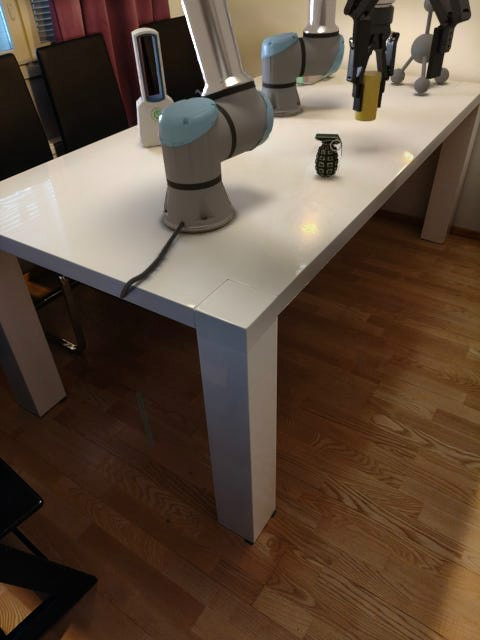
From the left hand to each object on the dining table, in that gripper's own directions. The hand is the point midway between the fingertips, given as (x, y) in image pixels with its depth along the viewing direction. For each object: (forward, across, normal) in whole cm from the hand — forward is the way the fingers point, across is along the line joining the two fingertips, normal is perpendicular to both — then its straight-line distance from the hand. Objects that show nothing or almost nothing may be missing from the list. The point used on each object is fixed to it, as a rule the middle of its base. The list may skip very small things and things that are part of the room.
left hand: (394, 71), depth 77 cm
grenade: (+30, +29, -19) cm, 46 cm away
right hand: (+19, +34, -40) cm, 56 cm away
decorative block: (+30, +108, -94) cm, 146 cm away
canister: (+22, +34, -40) cm, 57 cm away
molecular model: (+30, +62, -111) cm, 131 cm away
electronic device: (+30, +85, -6) cm, 90 cm away
